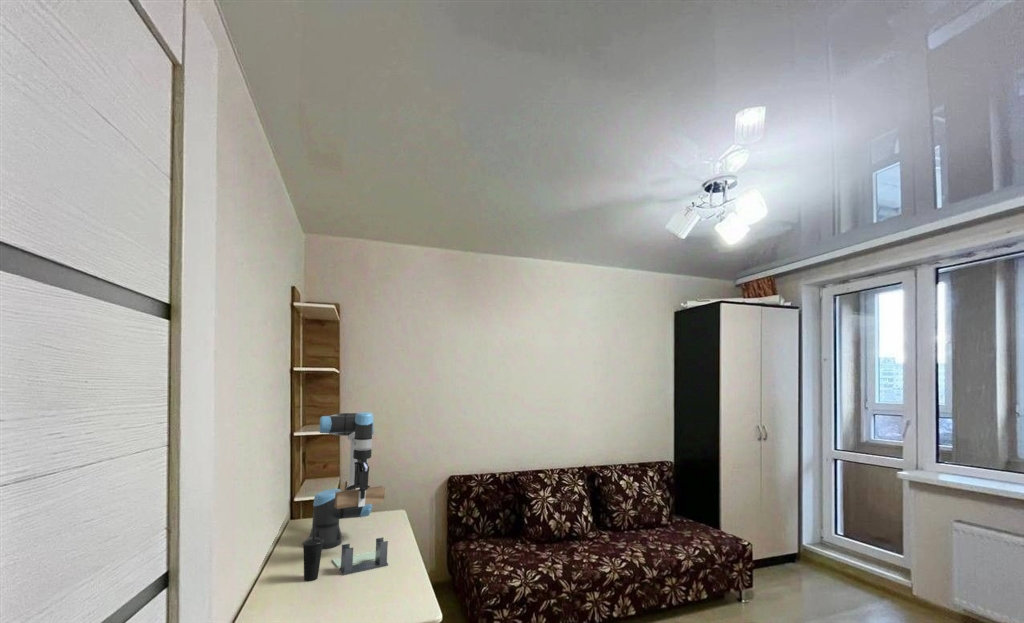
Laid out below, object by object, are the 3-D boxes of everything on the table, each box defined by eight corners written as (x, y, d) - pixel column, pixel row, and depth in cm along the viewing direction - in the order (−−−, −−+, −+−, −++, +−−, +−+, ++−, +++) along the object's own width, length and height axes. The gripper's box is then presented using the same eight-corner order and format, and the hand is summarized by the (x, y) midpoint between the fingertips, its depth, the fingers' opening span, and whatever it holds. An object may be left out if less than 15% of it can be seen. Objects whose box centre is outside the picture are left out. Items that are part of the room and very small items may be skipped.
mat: (332, 560, 200) (332, 559, 200) (374, 552, 209) (374, 550, 210) (337, 567, 192) (337, 566, 192) (381, 558, 202) (381, 557, 202)
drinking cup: (326, 576, 184) (329, 522, 187) (311, 584, 177) (315, 527, 180) (310, 573, 187) (313, 520, 189) (295, 581, 180) (299, 525, 182)
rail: (334, 506, 200) (335, 491, 201) (381, 499, 211) (381, 485, 212) (336, 509, 197) (337, 493, 197) (384, 502, 208) (384, 487, 208)
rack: (339, 570, 190) (340, 545, 191) (383, 560, 200) (384, 537, 201) (343, 575, 185) (344, 549, 186) (388, 565, 195) (389, 541, 196)
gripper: (348, 446, 212) (345, 501, 209) (359, 452, 198) (356, 511, 195) (365, 445, 216) (362, 499, 213) (377, 451, 202) (374, 508, 199)
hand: (359, 504), depth 204 cm, fingers closed on rail, 4 cm apart
